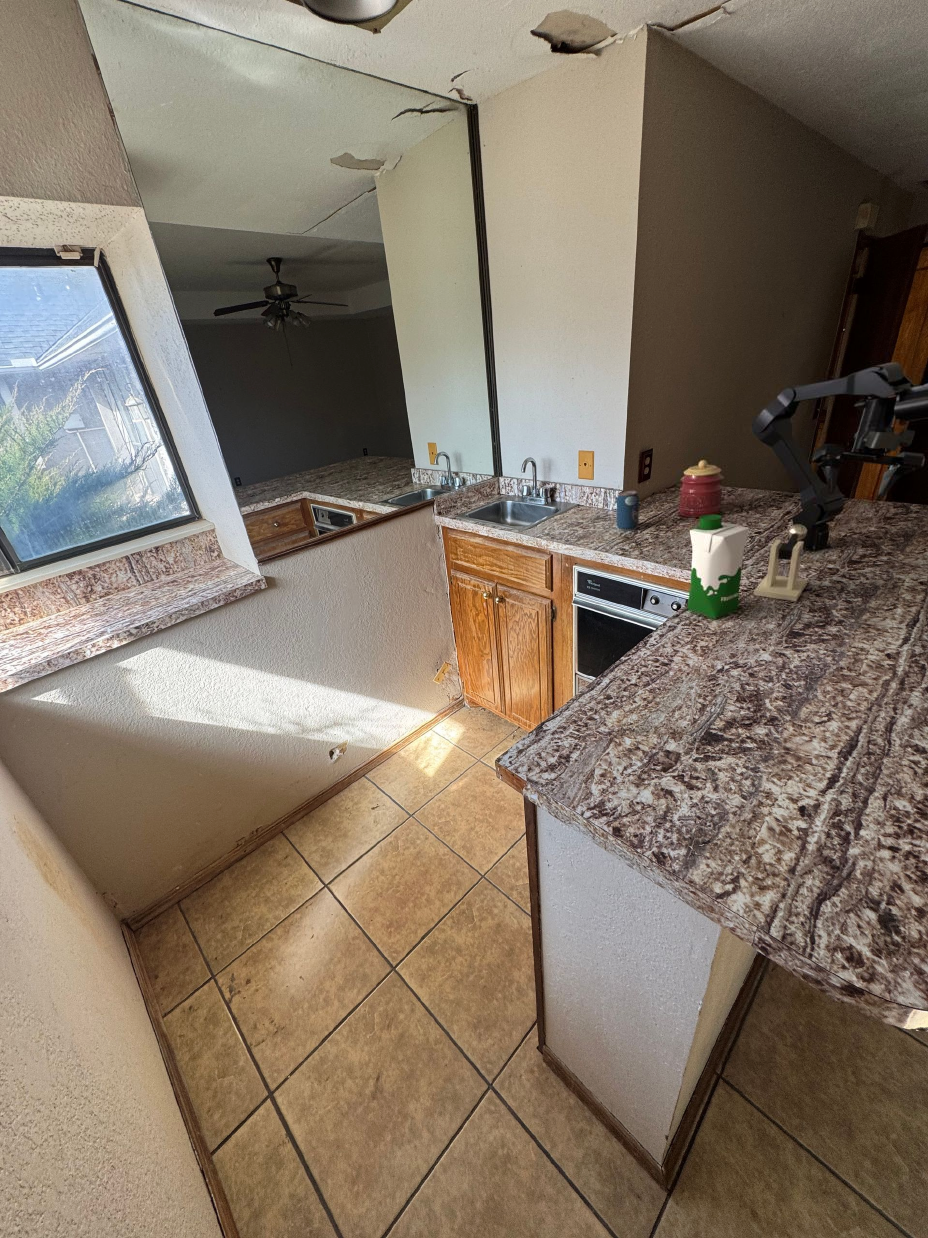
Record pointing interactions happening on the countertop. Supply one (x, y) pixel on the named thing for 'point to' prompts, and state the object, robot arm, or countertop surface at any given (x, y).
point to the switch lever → (792, 541)
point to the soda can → (627, 510)
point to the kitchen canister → (701, 490)
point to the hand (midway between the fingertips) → (854, 497)
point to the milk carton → (716, 566)
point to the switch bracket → (782, 585)
